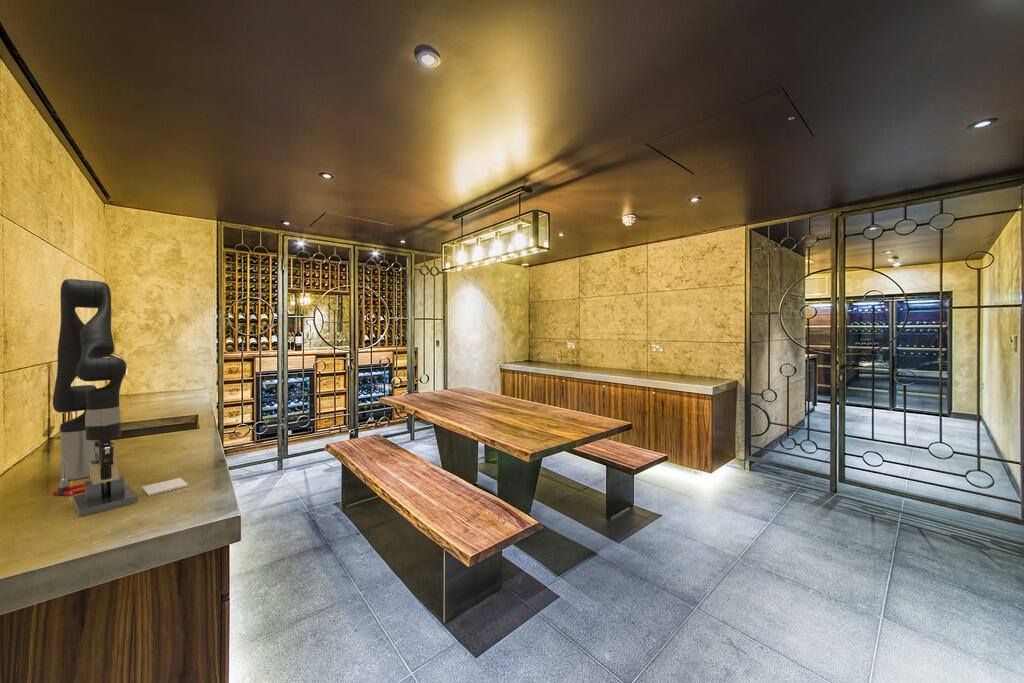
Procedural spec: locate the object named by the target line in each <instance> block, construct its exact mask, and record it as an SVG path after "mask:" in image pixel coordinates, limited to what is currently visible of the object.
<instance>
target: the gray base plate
mask: <svg viewBox="0 0 1024 683" xmlns="http://www.w3.org/2000/svg"><path fill="white" fill-rule="evenodd" d="M104 462H106V461H104ZM83 484H85V487H84V488H85V492H84V493H80V494H74V495H72V502H73V505H74V508H75V511H76V513H77V516H78V517H79V518H81V517H85V516H89V515H93V514H97V513H100V511H101V512H104V510H105V511H108V509H109V510H112V508H113V509H116V507H117V508H120V506H121V507H124V505H125V506H127V504H129V505H132V504H131V503H133V504H135V503H134V502H137V503H138V495H137V493H135V492H134V490H133V489H132V488H131V486H129V484H128V483H126V484H125V477H124V475H123V474H121V473H120V474H119V479H118V480H113V481H108V482H104V483H99V484H94V485H92V483H91V481H90V480H88V481H84V483H83ZM96 512H97V513H96ZM92 513H93V514H92ZM84 515H85V516H84ZM80 516H81V517H80Z"/></svg>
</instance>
